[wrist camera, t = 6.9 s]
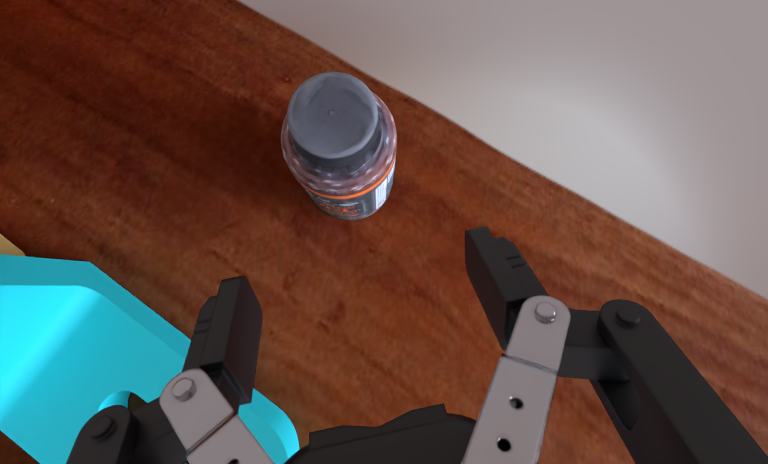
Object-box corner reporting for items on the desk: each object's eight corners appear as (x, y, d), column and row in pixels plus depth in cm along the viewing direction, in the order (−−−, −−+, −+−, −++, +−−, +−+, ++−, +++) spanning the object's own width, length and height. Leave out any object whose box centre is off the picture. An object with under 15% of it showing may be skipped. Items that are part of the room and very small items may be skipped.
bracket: (-5, 377, 26) (-313, 448, 15) (89, 261, 27) (-129, 243, 16) (231, 570, 25) (94, 823, 13) (321, 440, 26) (269, 566, 14)
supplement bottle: (298, 209, 28) (241, 157, 17) (324, 131, 29) (285, 32, 17) (379, 232, 28) (377, 196, 16) (403, 154, 28) (415, 68, 17)
